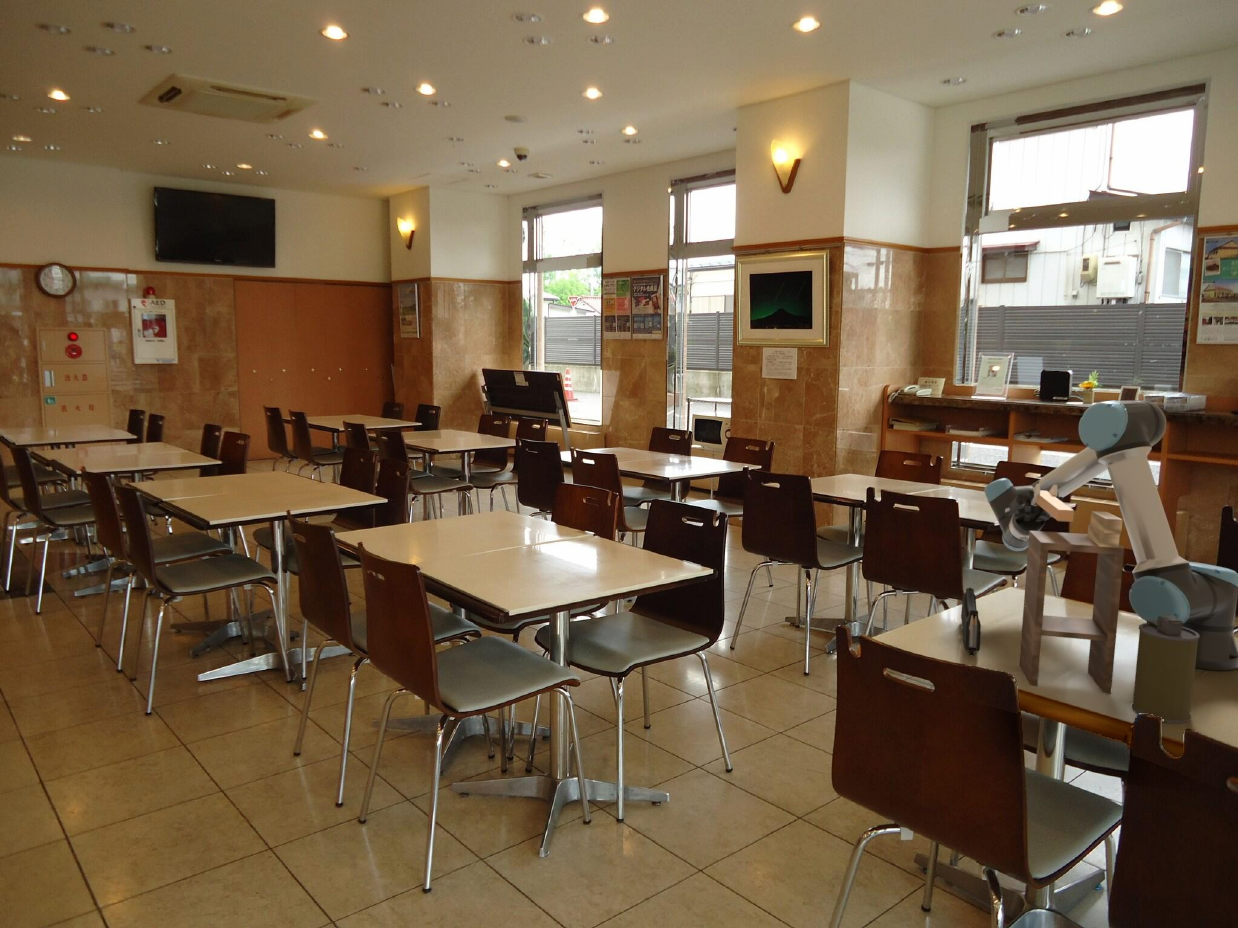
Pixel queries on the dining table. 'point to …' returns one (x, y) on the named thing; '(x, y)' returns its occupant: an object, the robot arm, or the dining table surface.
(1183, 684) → the canister
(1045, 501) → the batten
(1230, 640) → the robot arm
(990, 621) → the dining table surface
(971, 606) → the magazine
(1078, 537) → the rack
